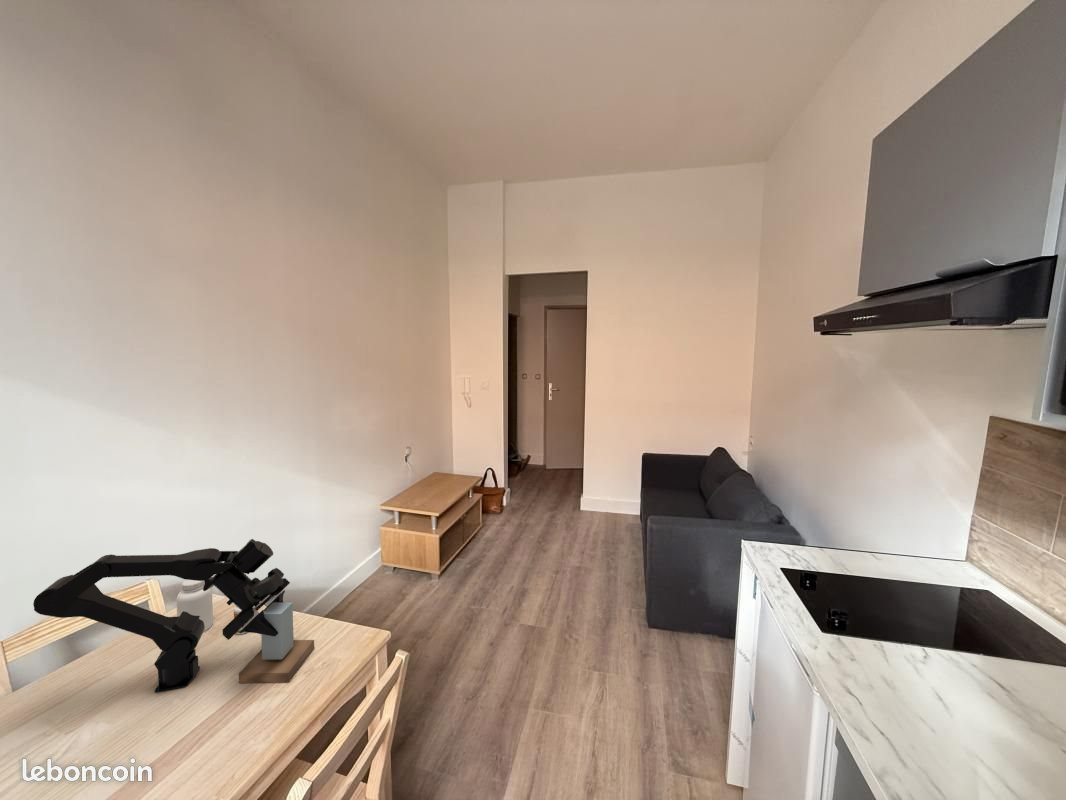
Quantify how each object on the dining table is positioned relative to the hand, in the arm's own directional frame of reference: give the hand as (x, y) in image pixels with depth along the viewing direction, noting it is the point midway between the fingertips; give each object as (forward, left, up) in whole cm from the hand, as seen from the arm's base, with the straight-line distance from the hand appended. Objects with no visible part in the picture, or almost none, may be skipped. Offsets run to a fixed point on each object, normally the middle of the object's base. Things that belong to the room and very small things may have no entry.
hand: (283, 628), depth 101 cm
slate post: (-1, 0, -7) cm, 7 cm away
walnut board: (-1, 0, -10) cm, 10 cm away
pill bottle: (-29, +23, -10) cm, 39 cm away
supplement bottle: (-15, +19, -10) cm, 27 cm away
